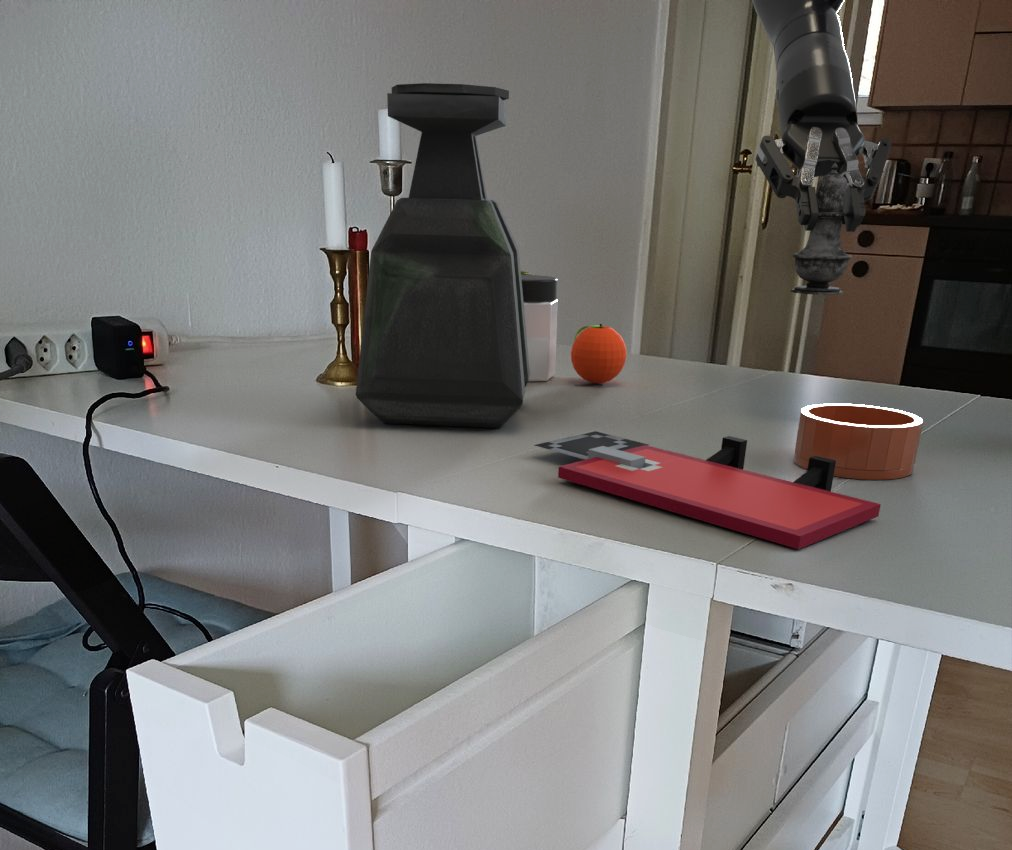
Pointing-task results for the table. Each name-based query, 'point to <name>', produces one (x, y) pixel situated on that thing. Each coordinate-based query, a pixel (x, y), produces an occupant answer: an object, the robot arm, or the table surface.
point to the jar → (540, 324)
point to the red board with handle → (716, 488)
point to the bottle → (445, 277)
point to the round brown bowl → (859, 440)
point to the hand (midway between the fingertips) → (833, 224)
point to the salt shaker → (824, 240)
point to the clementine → (598, 353)
